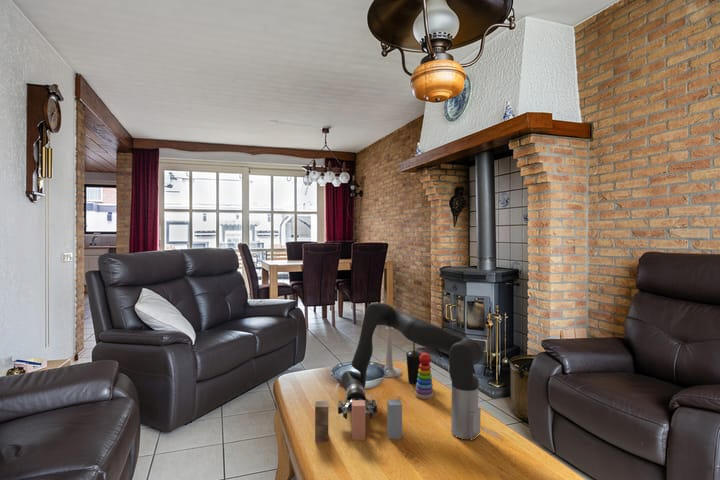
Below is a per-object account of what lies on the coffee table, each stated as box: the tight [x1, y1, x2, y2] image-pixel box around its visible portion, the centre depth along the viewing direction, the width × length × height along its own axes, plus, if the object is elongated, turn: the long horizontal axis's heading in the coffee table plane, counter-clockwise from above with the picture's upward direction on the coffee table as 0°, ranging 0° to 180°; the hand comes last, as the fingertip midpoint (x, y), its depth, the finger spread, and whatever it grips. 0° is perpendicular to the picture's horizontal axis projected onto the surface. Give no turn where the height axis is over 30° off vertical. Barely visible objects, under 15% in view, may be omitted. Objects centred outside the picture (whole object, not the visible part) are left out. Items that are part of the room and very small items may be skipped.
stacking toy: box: [414, 352, 434, 400], centre depth 177 cm, size 8×8×19 cm
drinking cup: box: [405, 342, 422, 385], centre depth 192 cm, size 8×8×20 cm
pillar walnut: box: [314, 400, 329, 443], centre depth 142 cm, size 4×4×12 cm
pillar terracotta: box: [351, 400, 366, 441], centre depth 143 cm, size 4×4×12 cm
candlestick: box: [384, 326, 403, 379], centre depth 204 cm, size 13×13×30 cm
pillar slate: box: [386, 398, 403, 440], centre depth 144 cm, size 4×4×12 cm
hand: (358, 415), depth 144 cm, fingers open, 8 cm apart
